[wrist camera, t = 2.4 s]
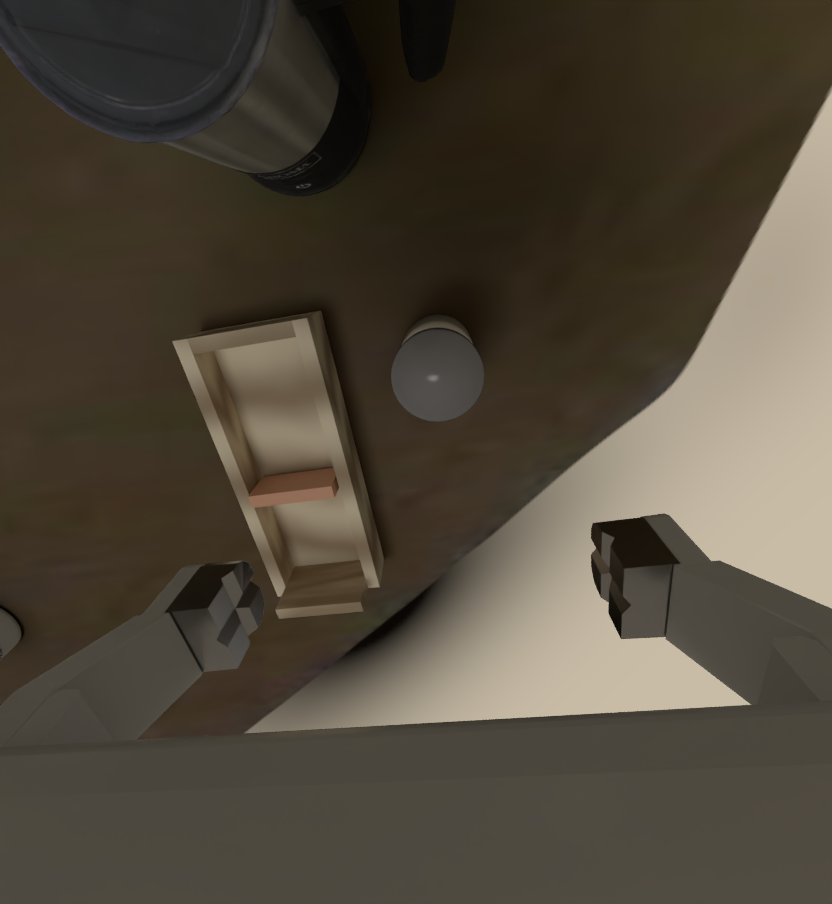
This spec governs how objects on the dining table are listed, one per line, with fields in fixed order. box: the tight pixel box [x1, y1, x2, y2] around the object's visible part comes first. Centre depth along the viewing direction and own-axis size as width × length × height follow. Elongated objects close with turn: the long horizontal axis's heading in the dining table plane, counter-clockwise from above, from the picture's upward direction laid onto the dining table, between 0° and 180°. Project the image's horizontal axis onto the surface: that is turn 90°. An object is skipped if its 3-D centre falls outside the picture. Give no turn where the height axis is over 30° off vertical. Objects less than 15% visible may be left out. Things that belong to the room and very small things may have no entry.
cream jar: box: [391, 314, 484, 421], centre depth 26 cm, size 5×5×7 cm
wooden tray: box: [172, 311, 384, 619], centre depth 31 cm, size 22×9×6 cm, turn 9°
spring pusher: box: [248, 468, 339, 508], centre depth 32 cm, size 1×6×3 cm, turn 100°
